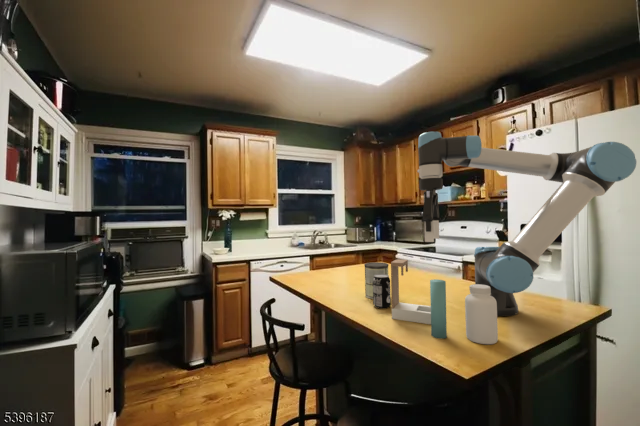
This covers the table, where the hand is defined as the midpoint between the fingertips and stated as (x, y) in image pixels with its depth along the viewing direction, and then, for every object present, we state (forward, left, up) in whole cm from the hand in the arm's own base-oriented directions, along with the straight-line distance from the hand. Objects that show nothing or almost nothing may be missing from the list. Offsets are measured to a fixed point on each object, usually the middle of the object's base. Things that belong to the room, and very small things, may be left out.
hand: (432, 240), depth 104 cm
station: (+6, +3, -27) cm, 27 cm away
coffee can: (+26, -18, -27) cm, 41 cm away
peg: (-3, +16, -27) cm, 31 cm away
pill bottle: (-14, +13, -27) cm, 33 cm away
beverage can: (+20, -5, -27) cm, 34 cm away
